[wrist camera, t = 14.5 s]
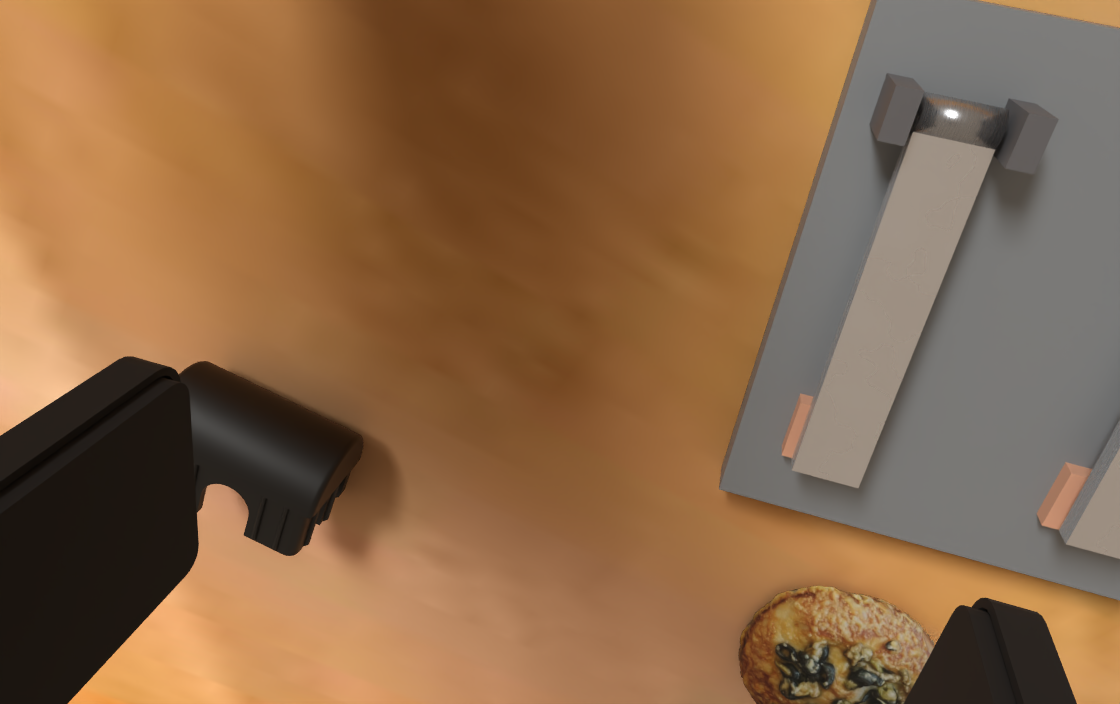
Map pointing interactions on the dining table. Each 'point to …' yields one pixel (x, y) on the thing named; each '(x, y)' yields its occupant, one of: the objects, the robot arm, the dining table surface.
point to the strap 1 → (897, 283)
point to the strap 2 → (1098, 505)
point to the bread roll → (831, 649)
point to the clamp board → (965, 296)
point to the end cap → (267, 455)
